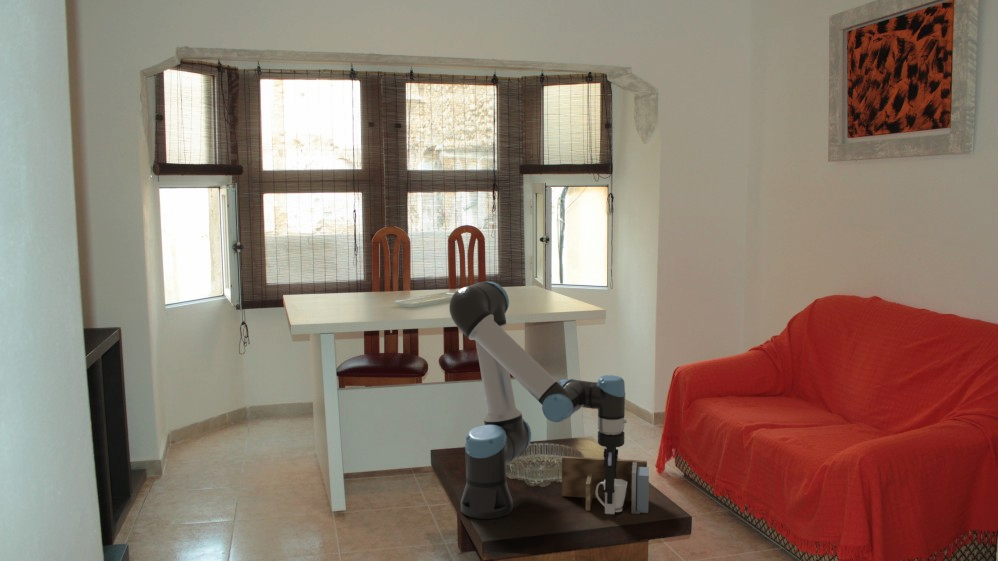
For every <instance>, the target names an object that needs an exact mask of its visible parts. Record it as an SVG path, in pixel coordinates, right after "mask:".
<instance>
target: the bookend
mask: <svg viewBox="0 0 998 561" xmlns="http://www.w3.org/2000/svg"><path fill="white" fill-rule="evenodd" d="M630 508H631V509H630V510H631V514H636V515H637V514H638V515H640V514H641V513H640V510H637V462H633V465H632V500H631V507H630Z"/></svg>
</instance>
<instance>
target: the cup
mask: <svg viewBox="0 0 998 561" xmlns="http://www.w3.org/2000/svg"><path fill="white" fill-rule="evenodd" d="M600 484H603V485H604V490H605V481H604V482H600V483H598V485H597V486H596V491H595V493H596V497H597V498H596V499H597V501H598V502H599V503H600V505H602V506H603V507H604V508H605V501H603V500H602V499H601V498H600V497H599V496H598V487H599V485H600ZM626 488H627V481H624V480H622V479H614V490H615V513H620V512H622V511H623V506H624V503H625V501H626V500H625V494H626Z"/></svg>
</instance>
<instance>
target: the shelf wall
mask: <svg viewBox="0 0 998 561" xmlns="http://www.w3.org/2000/svg"><path fill="white" fill-rule="evenodd" d="M633 462H637V472H638V467H648V461H647V460H640V459H639V460H637V459H636V460H634V459H622V458H621V459H619V458H617V467H616V478H618V479H622V480H624V481H627V488H626V494H625V500H624V501H632V465H633ZM588 474H592V499H597V497H596V493H595V491H596V486H597V485H598V483H600V482H604V481H605V466H604V457H603V458H602V457H583V456H566V455H565V456H561V496H562V497H568V498H569V497H571V498H572V497H573V498H585V499H586V481H587V476H588ZM603 490H604V485H603V484H600V485H599V487H598V496H599V497H600V499H601V500H602V499H603V500H605V492H603Z"/></svg>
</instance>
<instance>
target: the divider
mask: <svg viewBox="0 0 998 561" xmlns="http://www.w3.org/2000/svg"><path fill="white" fill-rule="evenodd" d="M592 503H593V498H592V474H588V476H587V481H586V498H585V511H591V506H592Z"/></svg>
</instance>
